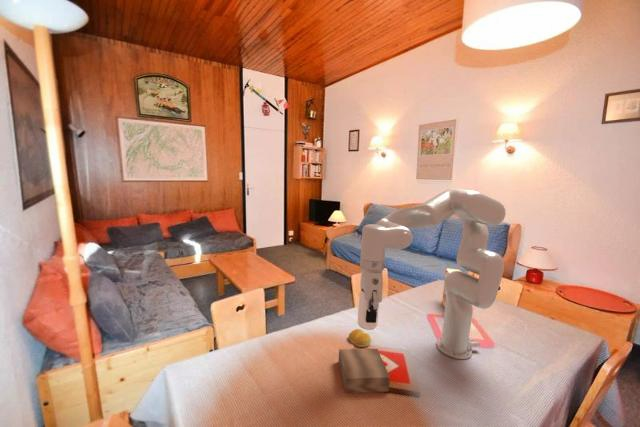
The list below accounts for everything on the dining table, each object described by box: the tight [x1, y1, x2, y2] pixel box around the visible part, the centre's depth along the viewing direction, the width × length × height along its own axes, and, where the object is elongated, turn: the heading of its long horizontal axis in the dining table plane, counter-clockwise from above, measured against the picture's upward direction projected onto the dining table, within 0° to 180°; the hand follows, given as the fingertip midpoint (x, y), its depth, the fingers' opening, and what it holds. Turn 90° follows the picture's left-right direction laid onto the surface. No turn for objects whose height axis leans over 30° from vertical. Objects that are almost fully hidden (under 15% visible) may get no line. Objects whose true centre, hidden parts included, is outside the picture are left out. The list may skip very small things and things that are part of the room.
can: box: [357, 288, 380, 331], centre depth 91 cm, size 6×6×12 cm
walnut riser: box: [338, 348, 391, 394], centre depth 94 cm, size 14×14×5 cm
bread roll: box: [348, 328, 372, 348], centre depth 114 cm, size 8×9×4 cm
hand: (367, 315), depth 91 cm, fingers closed on can, 6 cm apart
